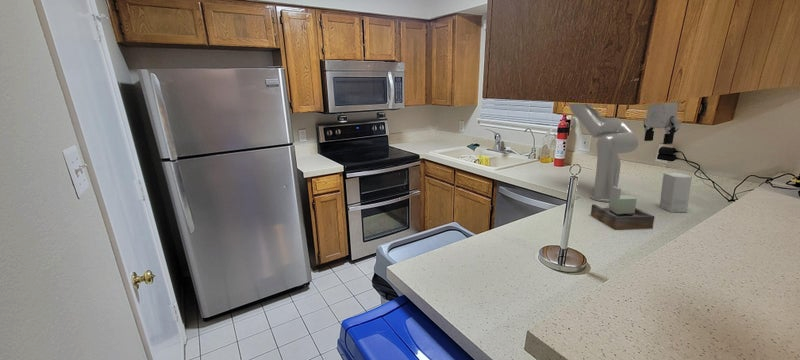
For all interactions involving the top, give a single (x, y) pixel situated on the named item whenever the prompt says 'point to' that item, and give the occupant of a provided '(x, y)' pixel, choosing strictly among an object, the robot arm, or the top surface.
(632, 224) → the brown wooden tray
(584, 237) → the top surface
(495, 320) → the top surface
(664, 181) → the skincare box
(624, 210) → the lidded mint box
